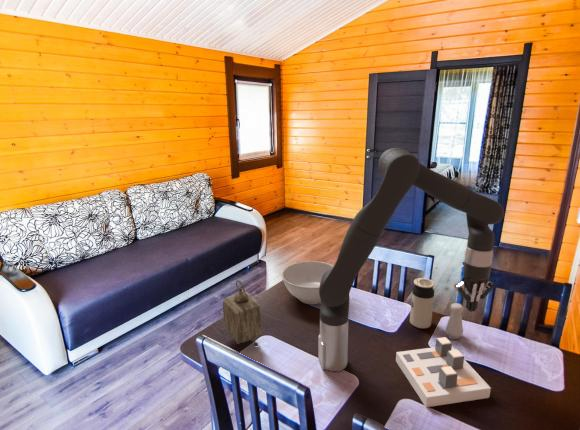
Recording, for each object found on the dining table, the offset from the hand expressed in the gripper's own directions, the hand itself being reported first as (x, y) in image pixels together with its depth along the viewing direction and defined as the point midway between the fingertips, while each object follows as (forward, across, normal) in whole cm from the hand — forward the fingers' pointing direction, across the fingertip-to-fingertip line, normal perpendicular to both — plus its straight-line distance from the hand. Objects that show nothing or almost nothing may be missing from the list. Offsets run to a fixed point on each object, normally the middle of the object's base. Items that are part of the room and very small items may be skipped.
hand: (471, 310), depth 116 cm
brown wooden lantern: (+19, -74, +24) cm, 80 cm away
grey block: (+15, -15, -13) cm, 25 cm away
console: (+19, -13, -6) cm, 24 cm away
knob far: (+15, -8, 0) cm, 17 cm away
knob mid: (+15, -8, -6) cm, 18 cm away
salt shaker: (+19, +4, +12) cm, 23 cm away
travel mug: (+19, -4, +22) cm, 30 cm away
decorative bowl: (+19, -42, +50) cm, 68 cm away
